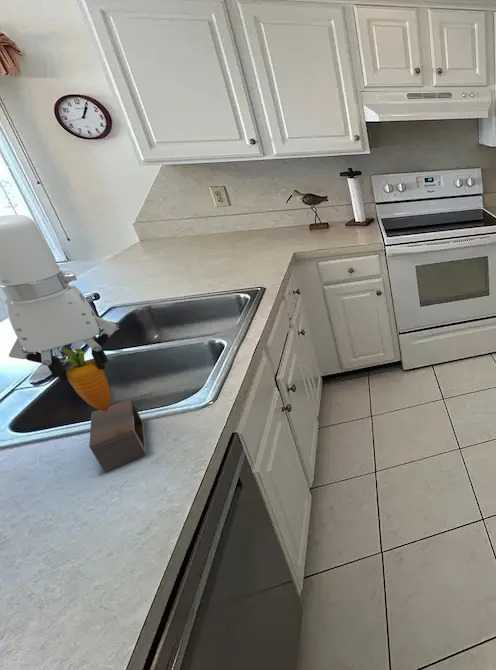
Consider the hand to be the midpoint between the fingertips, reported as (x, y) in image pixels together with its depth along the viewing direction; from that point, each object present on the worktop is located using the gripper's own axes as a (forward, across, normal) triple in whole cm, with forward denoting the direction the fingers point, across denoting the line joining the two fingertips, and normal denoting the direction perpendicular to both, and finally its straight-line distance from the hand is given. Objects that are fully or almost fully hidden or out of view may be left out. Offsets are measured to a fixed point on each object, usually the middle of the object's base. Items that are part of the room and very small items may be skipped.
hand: (83, 371), depth 80 cm
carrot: (+10, 0, 0) cm, 10 cm away
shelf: (+19, 0, 0) cm, 19 cm away
